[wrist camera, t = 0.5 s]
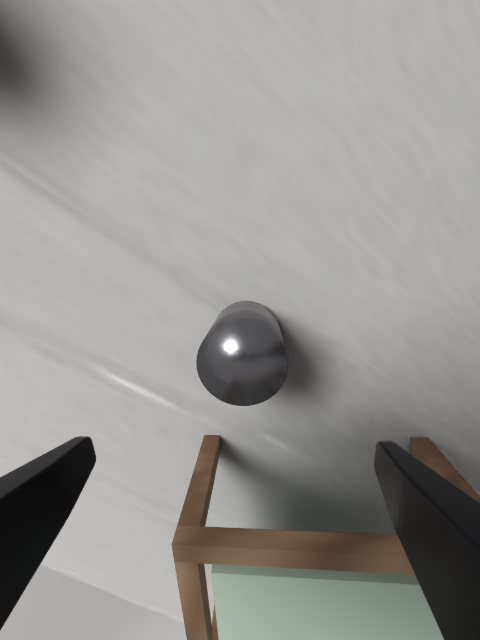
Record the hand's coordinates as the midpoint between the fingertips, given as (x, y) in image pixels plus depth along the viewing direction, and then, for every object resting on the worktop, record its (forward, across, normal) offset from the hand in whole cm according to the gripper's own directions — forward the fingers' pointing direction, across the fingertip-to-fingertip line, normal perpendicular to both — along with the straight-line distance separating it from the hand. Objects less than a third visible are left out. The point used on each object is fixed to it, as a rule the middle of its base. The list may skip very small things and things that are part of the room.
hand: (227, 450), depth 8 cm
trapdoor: (+4, -5, +18) cm, 19 cm away
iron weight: (+12, 0, 0) cm, 12 cm away
